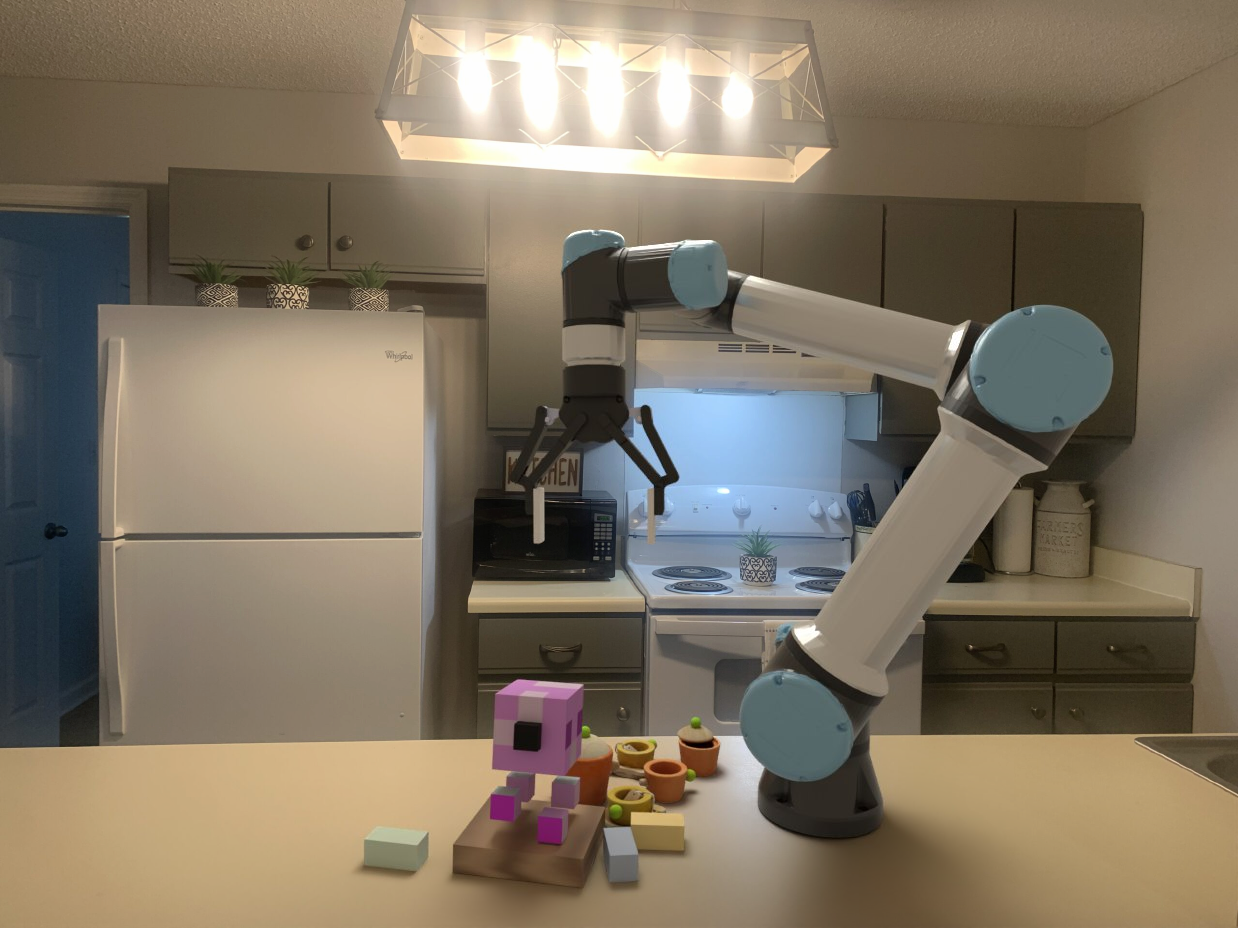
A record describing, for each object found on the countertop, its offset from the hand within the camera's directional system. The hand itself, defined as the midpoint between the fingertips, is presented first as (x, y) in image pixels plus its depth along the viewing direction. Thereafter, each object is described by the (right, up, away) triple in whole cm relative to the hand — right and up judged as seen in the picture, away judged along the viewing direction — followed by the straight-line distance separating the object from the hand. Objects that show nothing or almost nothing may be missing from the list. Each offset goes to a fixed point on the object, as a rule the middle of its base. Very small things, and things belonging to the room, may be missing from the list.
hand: (594, 542), depth 98 cm
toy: (-6, -31, -8) cm, 32 cm away
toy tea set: (+6, -34, +10) cm, 35 cm away
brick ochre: (+7, -34, -5) cm, 35 cm away
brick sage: (-21, -34, -10) cm, 41 cm away
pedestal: (-7, -34, -7) cm, 35 cm away
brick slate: (+3, -34, -10) cm, 36 cm away
